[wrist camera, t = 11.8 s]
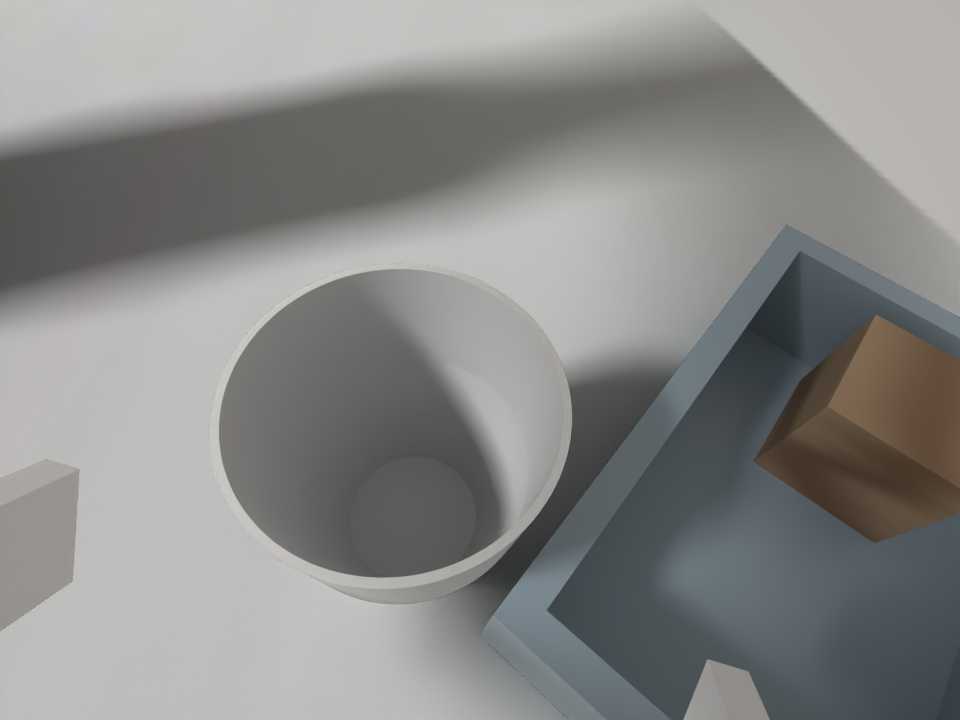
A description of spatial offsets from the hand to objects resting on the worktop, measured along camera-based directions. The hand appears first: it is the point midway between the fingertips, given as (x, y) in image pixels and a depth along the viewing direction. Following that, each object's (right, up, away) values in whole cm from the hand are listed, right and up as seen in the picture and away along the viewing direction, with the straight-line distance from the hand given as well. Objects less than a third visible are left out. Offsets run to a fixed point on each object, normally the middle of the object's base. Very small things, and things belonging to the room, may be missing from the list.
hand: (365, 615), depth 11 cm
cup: (0, -1, +10) cm, 10 cm away
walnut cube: (+17, +1, +12) cm, 21 cm away
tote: (+14, -2, +10) cm, 17 cm away
